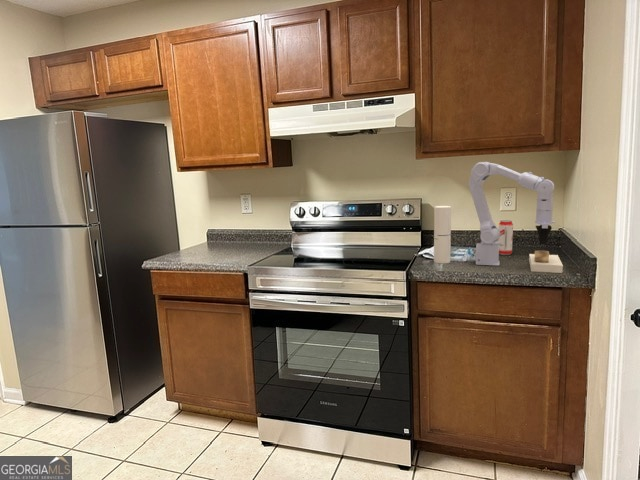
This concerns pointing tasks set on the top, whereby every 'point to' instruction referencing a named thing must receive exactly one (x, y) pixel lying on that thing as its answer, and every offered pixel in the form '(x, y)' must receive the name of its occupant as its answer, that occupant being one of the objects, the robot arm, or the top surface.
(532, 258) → the board
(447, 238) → the cylindrical container
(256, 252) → the top surface
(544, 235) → the robot arm
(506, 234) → the beer can
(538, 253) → the peg
